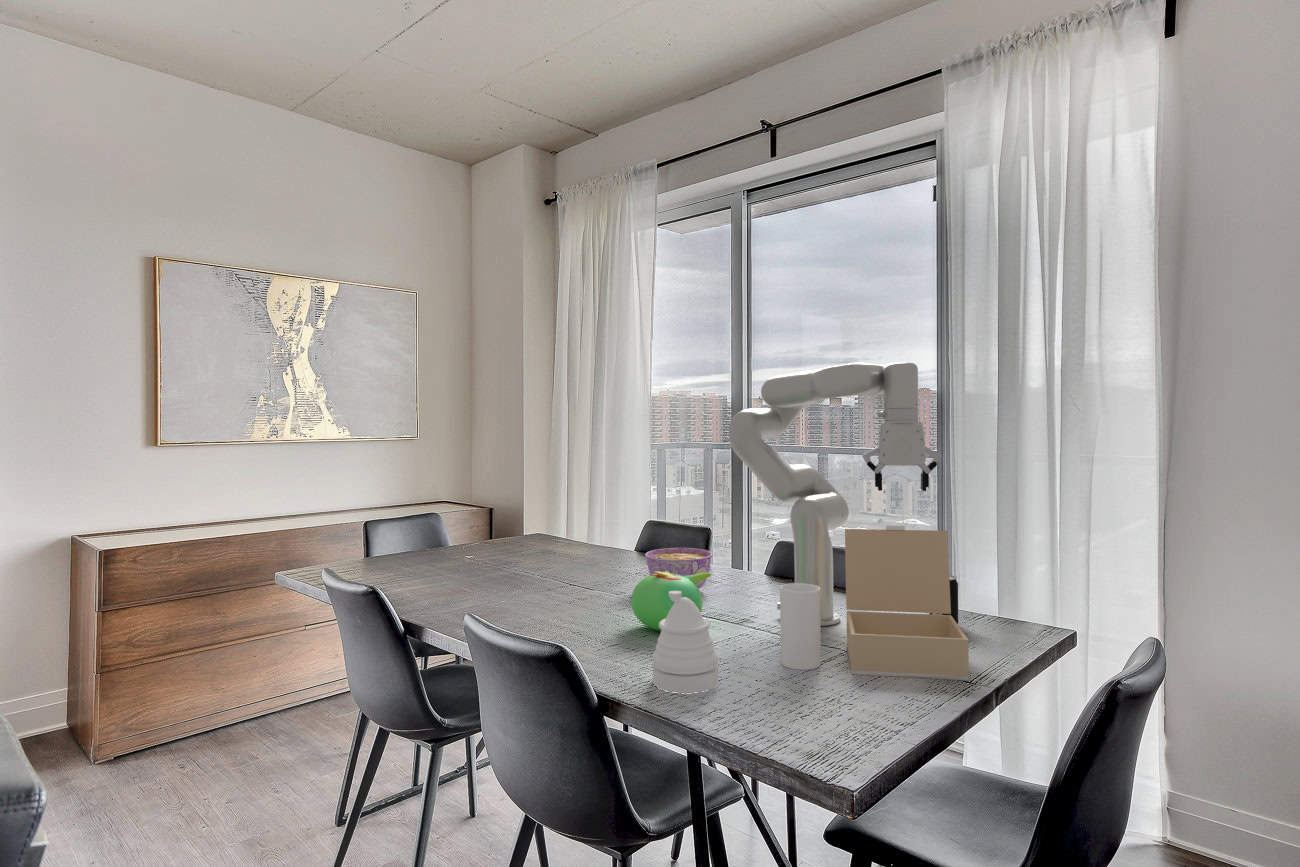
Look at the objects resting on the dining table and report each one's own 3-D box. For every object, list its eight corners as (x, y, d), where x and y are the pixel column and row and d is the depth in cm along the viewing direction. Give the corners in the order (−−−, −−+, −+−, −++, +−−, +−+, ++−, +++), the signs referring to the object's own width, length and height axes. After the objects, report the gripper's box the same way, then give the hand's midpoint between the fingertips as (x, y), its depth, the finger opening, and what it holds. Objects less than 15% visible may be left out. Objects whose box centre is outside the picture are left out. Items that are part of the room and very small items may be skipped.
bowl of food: (715, 600, 209) (714, 559, 209) (644, 601, 209) (644, 560, 209) (710, 584, 229) (710, 547, 229) (646, 585, 229) (645, 548, 229)
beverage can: (960, 629, 177) (960, 580, 177) (931, 628, 178) (931, 579, 178) (955, 622, 184) (955, 574, 183) (927, 621, 185) (927, 573, 185)
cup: (812, 672, 149) (812, 593, 149) (774, 665, 154) (773, 589, 153) (826, 660, 156) (825, 585, 156) (789, 654, 161) (788, 581, 160)
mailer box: (851, 674, 148) (851, 634, 148) (846, 646, 166) (846, 611, 165) (968, 680, 143) (968, 639, 143) (951, 651, 161) (951, 615, 161)
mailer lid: (844, 525, 169) (844, 525, 170) (846, 609, 165) (846, 609, 166) (946, 526, 164) (946, 526, 165) (950, 613, 161) (950, 613, 161)
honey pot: (669, 699, 136) (668, 602, 136) (642, 677, 148) (641, 587, 148) (730, 687, 142) (729, 594, 141) (699, 667, 153) (698, 581, 153)
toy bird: (618, 630, 181) (617, 570, 181) (664, 615, 194) (663, 560, 193) (673, 644, 169) (672, 580, 169) (718, 628, 181) (718, 569, 181)
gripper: (863, 417, 169) (863, 491, 169) (943, 415, 165) (944, 492, 165) (861, 416, 176) (861, 488, 176) (938, 415, 172) (938, 489, 173)
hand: (901, 490), depth 171 cm, fingers open, 9 cm apart
